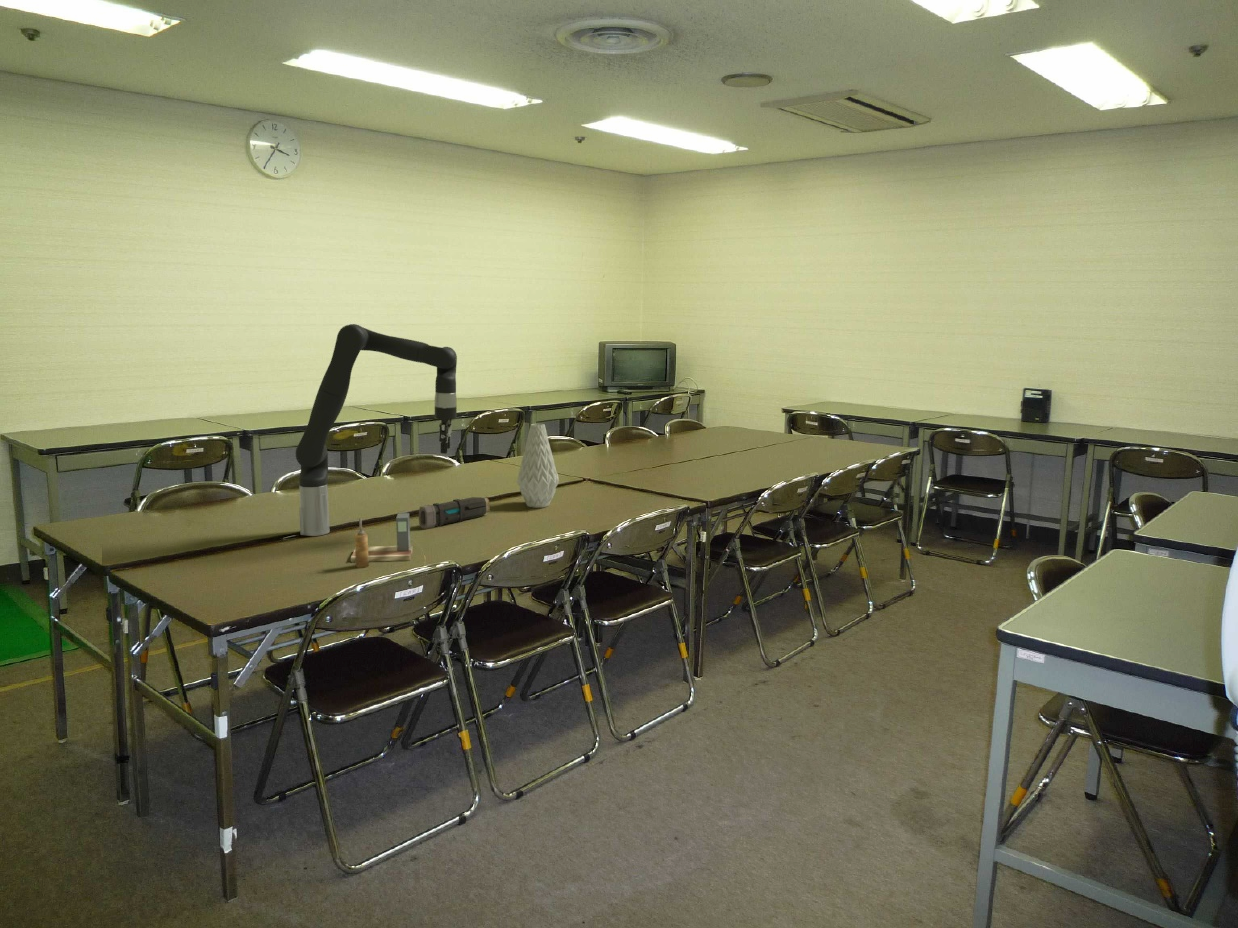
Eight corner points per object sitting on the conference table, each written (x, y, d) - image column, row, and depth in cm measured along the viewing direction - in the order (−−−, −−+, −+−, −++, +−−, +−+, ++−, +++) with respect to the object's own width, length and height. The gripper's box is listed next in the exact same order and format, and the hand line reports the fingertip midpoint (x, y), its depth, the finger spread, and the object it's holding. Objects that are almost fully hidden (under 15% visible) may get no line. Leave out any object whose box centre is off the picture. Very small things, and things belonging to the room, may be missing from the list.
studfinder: (397, 551, 286) (396, 518, 284) (399, 545, 292) (398, 513, 290) (408, 551, 286) (407, 517, 284) (410, 545, 293) (409, 513, 291)
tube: (493, 524, 339) (428, 529, 317) (482, 525, 343) (417, 530, 321) (491, 495, 340) (426, 498, 317) (480, 497, 344) (415, 500, 322)
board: (350, 562, 279) (350, 557, 279) (356, 551, 291) (356, 546, 290) (409, 560, 282) (409, 555, 281) (412, 549, 293) (412, 545, 293)
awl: (355, 567, 273) (353, 520, 270) (356, 564, 277) (354, 517, 274) (367, 567, 274) (366, 520, 271) (369, 563, 277) (367, 517, 274)
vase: (565, 507, 354) (565, 426, 348) (525, 511, 347) (525, 428, 341) (550, 499, 369) (550, 420, 363) (512, 502, 362) (511, 422, 356)
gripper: (437, 401, 316) (437, 446, 320) (432, 407, 303) (431, 454, 306) (458, 402, 317) (458, 447, 320) (454, 408, 303) (453, 455, 307)
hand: (445, 450), depth 313 cm, fingers open, 8 cm apart
